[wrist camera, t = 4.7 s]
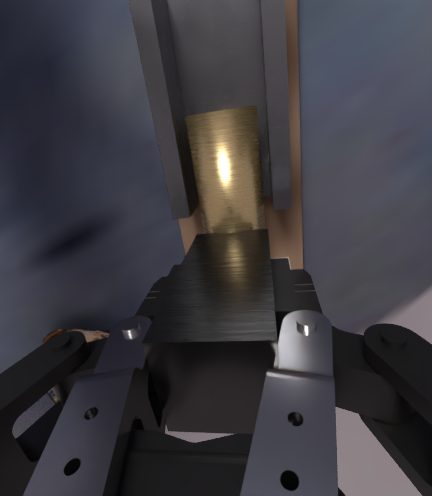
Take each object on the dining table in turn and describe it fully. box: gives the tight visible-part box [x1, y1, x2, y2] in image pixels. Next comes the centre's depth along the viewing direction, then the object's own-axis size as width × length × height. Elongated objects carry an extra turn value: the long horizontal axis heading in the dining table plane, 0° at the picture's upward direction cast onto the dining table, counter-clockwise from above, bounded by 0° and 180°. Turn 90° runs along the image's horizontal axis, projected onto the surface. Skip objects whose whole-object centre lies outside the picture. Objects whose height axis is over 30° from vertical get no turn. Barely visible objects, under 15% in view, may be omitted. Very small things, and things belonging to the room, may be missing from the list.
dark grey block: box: [142, 106, 278, 434], centre depth 11 cm, size 9×3×10 cm, turn 8°
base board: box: [179, 0, 303, 270], centre depth 16 cm, size 18×7×1 cm, turn 8°
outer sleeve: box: [129, 0, 292, 219], centre depth 13 cm, size 9×5×3 cm, turn 8°
